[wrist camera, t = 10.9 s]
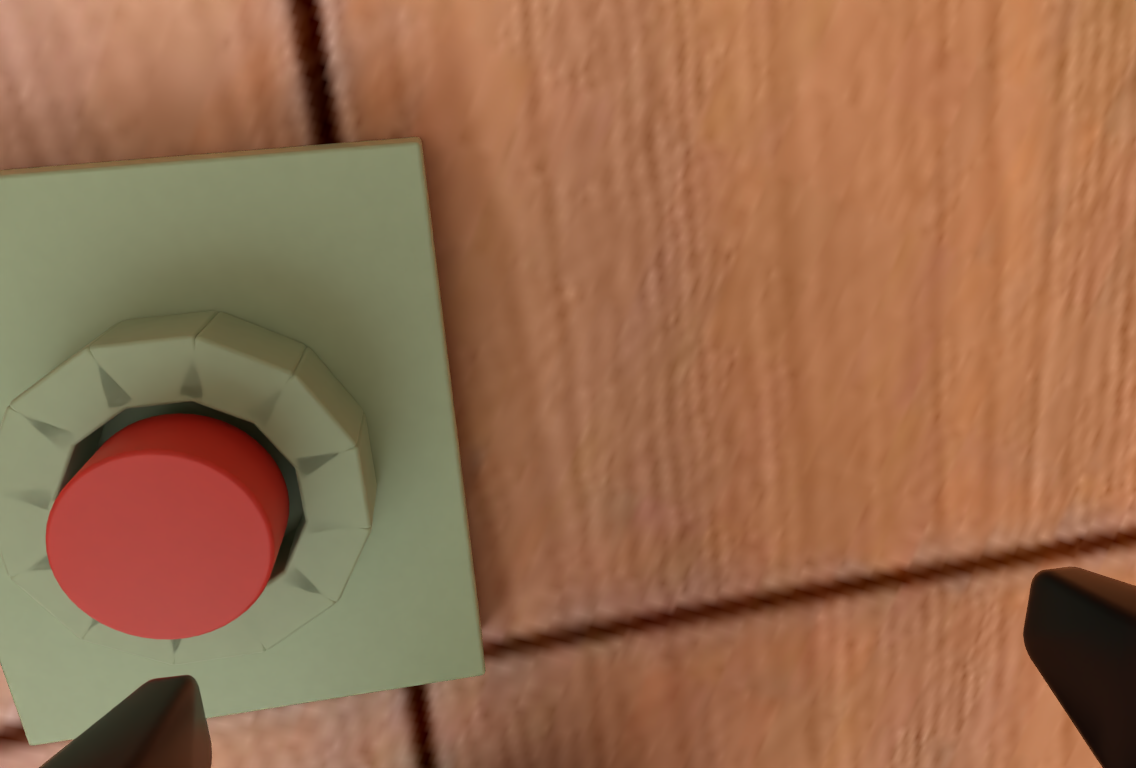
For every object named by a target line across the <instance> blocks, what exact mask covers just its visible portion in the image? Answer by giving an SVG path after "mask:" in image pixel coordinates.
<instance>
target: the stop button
mask: <svg viewBox="0 0 1136 768" xmlns="http://www.w3.org/2000/svg"><path fill="white" fill-rule="evenodd" d="M288 518H289V496H288V490H287V486H286V483H285V480H284V477H283V475H282V473H281V471H280V469H279V467H278V465H277V464H276V462H275V461H274V459H273V458H272V457H271V455H270V454H269V453H268V452H267V450H266V449H265V448H264V447H263V446H262V445H261V444H259V443H258V442H257V441H256V440H255V439H254V438H252V437H251V436H250V435H248V434H247V433H246V432H244V431H242V430H240V429H239V428H237V427H235V426H233V425H231V424H228V423H226V422H224V421H221V420H218V419H214V418H211V417H207V416H202V415H196V414H183V413H177V414H163V415H158V416H152V417H149V418H145V419H142V420H139V421H137V422H135V423H132V424H130V425H128V426H126V427H124V428H123V429H121V430H120V431H118V432H116V433H115V434H114V435H113V436H111V437H110V438H109V439H108V440H107V441H106V442H105V443H104V444H103V445H102V446H101V447H100V448H99V449H98V450H97V451H96V452H95V454H94V455H93V456H92V457H91V458H90V459H89V460H88V461H87V462H86V463H85V464H84V466H83V467H82V468H81V469H80V470H79V471H78V472H77V473H76V474H75V475H74V476H73V478H72V479H71V480H70V481H69V482H68V483H67V484H66V485H65V486H64V488H63V489H62V490H61V492H60V493H59V495H58V496H57V498H56V499H55V501H54V504H53V506H52V508H51V510H50V513H49V517H48V521H47V526H46V537H45V538H46V552H47V556H48V560H49V564H50V567H51V569H52V572H53V574H54V577H55V578H56V580H57V582H58V584H59V585H60V587H61V588H62V590H63V591H64V592H65V594H66V595H67V596H68V597H69V599H70V600H71V601H72V602H73V603H74V604H75V605H76V606H77V607H78V608H80V609H81V610H82V611H83V612H85V613H86V614H87V615H89V616H90V617H92V618H93V619H95V620H97V621H98V622H100V623H101V624H103V625H106V626H108V627H110V628H112V629H114V630H117V631H120V632H123V633H126V634H129V635H133V636H138V637H142V638H150V639H167V640H172V639H183V638H189V637H194V636H199V635H202V634H206V633H209V632H212V631H214V630H216V629H219V628H221V627H223V626H225V625H227V624H228V623H230V622H232V621H233V620H235V619H237V618H238V617H239V616H241V615H242V614H243V613H244V612H246V611H247V610H248V609H249V608H250V607H251V606H252V605H253V604H254V603H255V602H256V601H257V599H258V598H259V596H260V595H261V594H262V592H263V591H264V589H265V587H266V585H267V583H268V581H269V579H270V576H271V573H272V570H273V567H274V564H275V561H276V558H277V555H278V552H279V549H280V546H281V543H282V540H283V536H284V533H285V530H286V527H287V523H288Z"/></svg>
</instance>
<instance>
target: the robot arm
mask: <svg viewBox="0 0 1136 768" xmlns="http://www.w3.org/2000/svg"><path fill="white" fill-rule="evenodd" d="M1023 636H1024V643H1025V647H1026V650H1027V652H1028V654H1029V656H1030V658H1031V660H1032V661H1033V663H1034V664H1035V666H1036V667H1037V669H1038V670H1039V672H1040V673H1041V675H1042V676H1043V678H1044V679H1045V681H1046V682H1047V684H1048V685H1049V687H1050V689H1051V690H1052V692H1053V693H1054V695H1055V696H1056V698H1057V699H1058V701H1059V702H1060V704H1061V705H1062V707H1063V708H1064V710H1065V711H1066V713H1067V714H1068V716H1069V717H1070V719H1071V720H1072V722H1073V723H1074V725H1075V726H1076V728H1077V730H1078V731H1079V733H1080V734H1081V736H1082V737H1083V739H1084V740H1085V742H1086V743H1087V745H1088V746H1089V748H1090V749H1091V751H1092V752H1093V754H1094V755H1095V757H1096V758H1097V760H1098V761H1099V763H1100V764H1101V765H1102V767H1103V768H1136V586H1134V585H1131V584H1128V583H1125V582H1121V581H1118V580H1115V579H1112V578H1109V577H1106V576H1103V575H1100V574H1097V573H1094V572H1090V571H1087V570H1084V569H1081V568H1077V567H1064V568H1056V569H1048V570H1042V571H1040V572H1038V573H1037V574H1036V575H1035V577H1034V578H1033V580H1032V583H1031V588H1030V595H1029V601H1028V607H1027V613H1026V619H1025V625H1024V632H1023ZM211 760H212V748H211V740H210V735H209V730H208V726H207V721H206V716H205V712H204V707H203V702H202V698H201V693H200V689H199V685H198V683H197V681H196V679H195V678H194V677H192V676H191V675H180V676H172V677H163V678H155V679H151V680H149V681H147V682H146V683H144V684H143V685H141V686H140V687H139V688H138V689H136V690H135V691H134V692H133V693H131V694H130V695H129V696H128V697H126V698H125V699H124V700H123V701H121V702H120V703H119V704H118V705H116V706H115V707H114V708H113V709H111V710H110V711H109V712H108V713H107V714H105V715H104V716H103V717H102V718H100V719H99V720H98V721H97V722H95V723H94V724H93V725H92V726H90V727H89V728H88V729H87V730H85V731H84V732H83V733H82V734H80V735H79V736H78V737H77V738H75V739H74V740H73V741H72V742H70V743H69V744H68V745H67V746H65V747H64V748H63V749H62V750H60V751H59V752H58V753H57V754H55V755H54V756H53V757H52V758H50V759H49V760H48V761H47V762H45V763H44V764H43V765H42V766H41V767H39V768H211Z"/></svg>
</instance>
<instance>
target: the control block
mask: <svg viewBox="0 0 1136 768" xmlns="http://www.w3.org/2000/svg"><path fill="white" fill-rule="evenodd" d="M177 413H183V414H196V415H202V416H207V417H211V418H214V419H218V420H221V421H224V422H226V423H228V424H231V425H233V426H235V427H237V428H239V429H240V430H242V431H244V432H246V433H247V434H248V435H250V436H251V437H252V438H254V439H255V440H256V441H257V442H258V443H259V444H261V445H262V446H263V447H264V448H265V449H266V450H267V452H268V453H269V454H270V455H271V457H272V458H273V459H274V461H275V462H276V464H277V465H278V467H279V469H280V471H281V473H282V475H283V477H284V480H285V483H286V486H287V490H288V496H289V518H288V523H287V527H286V530H285V533H284V536H283V540H282V543H281V546H280V549H279V552H278V555H277V558H276V561H275V564H274V567H273V570H272V573H271V576H270V579H269V581H268V583H267V585H266V587H265V589H264V591H263V592H262V594H261V595H260V596H259V598H258V599H257V601H256V602H255V603H254V604H253V605H252V606H251V607H250V608H249V609H248V610H247V611H246V612H244V613H243V614H242V615H241V616H239V617H238V618H237V619H235V620H233V621H232V622H230V623H228V624H227V625H225V626H223V627H221V628H219V629H216V630H214V631H212V632H209V633H206V634H202V635H199V636H194V637H189V638H183V639H172V640H167V639H150V638H142V637H138V636H133V635H129V634H126V633H123V632H120V631H117V630H114V629H112V628H110V627H108V626H106V625H103V624H101V623H100V622H98V621H97V620H95V619H93V618H92V617H90V616H89V615H87V614H86V613H85V612H83V611H82V610H81V609H80V608H78V607H77V606H76V605H75V604H74V603H73V602H72V601H71V600H70V599H69V597H68V596H67V595H66V594H65V592H64V591H63V590H62V588H61V587H60V585H59V584H58V582H57V580H56V578H55V577H54V574H53V572H52V569H51V567H50V564H49V560H48V556H47V552H46V538H45V537H46V526H47V521H48V517H49V513H50V510H51V508H52V506H53V504H54V501H55V499H56V498H57V496H58V495H59V493H60V492H61V490H62V489H63V488H64V486H65V485H66V484H67V483H68V482H69V481H70V480H71V479H72V478H73V476H74V475H75V474H76V473H77V472H78V471H79V470H80V469H81V468H82V467H83V466H84V464H85V463H86V462H87V461H88V460H89V459H90V458H91V457H92V456H93V455H94V454H95V452H96V451H97V450H98V449H99V448H100V447H101V446H102V445H103V444H104V443H105V442H106V441H107V440H108V439H109V438H110V437H111V436H113V435H114V434H115V433H116V432H118V431H120V430H121V429H123V428H124V427H126V426H128V425H130V424H132V423H135V422H137V421H139V420H142V419H145V418H149V417H152V416H158V415H163V414H177ZM0 663H1V666H2V669H3V672H4V675H5V677H6V680H7V683H8V686H9V689H10V692H11V694H12V697H13V700H14V703H15V706H16V708H17V711H18V714H19V717H20V720H21V723H22V725H23V728H24V731H25V734H26V737H27V739H28V742H29V744H30V745H40V744H46V743H53V742H59V741H65V740H72V739H75V738H77V737H78V736H79V735H80V734H82V733H83V732H84V731H85V730H87V729H88V728H89V727H90V726H92V725H93V724H94V723H95V722H97V721H98V720H99V719H100V718H102V717H103V716H104V715H105V714H107V713H108V712H109V711H110V710H111V709H113V708H114V707H115V706H116V705H118V704H119V703H120V702H121V701H123V700H124V699H125V698H126V697H128V696H129V695H130V694H131V693H133V692H134V691H135V690H136V689H138V688H139V687H140V686H141V685H143V684H144V683H146V682H147V681H149V680H151V679H155V678H163V677H172V676H180V675H191V676H192V677H194V678H195V679H196V681H197V683H198V685H199V689H200V693H201V698H202V702H203V707H204V712H205V716H206V718H212V717H219V716H225V715H231V714H238V713H244V712H251V711H257V710H263V709H270V708H276V707H282V706H289V705H295V704H302V703H308V702H314V701H321V700H327V699H334V698H340V697H346V696H353V695H359V694H365V693H372V692H378V691H385V690H391V689H397V688H404V687H410V686H417V685H423V684H429V683H436V682H442V681H448V680H455V679H461V678H468V677H474V676H480V675H483V674H484V673H485V661H484V650H483V640H482V630H481V622H480V614H479V606H478V597H477V589H476V581H475V573H474V565H473V556H472V548H471V540H470V532H469V524H468V516H467V507H466V499H465V491H464V483H463V475H462V467H461V458H460V450H459V442H458V434H457V426H456V417H455V409H454V401H453V393H452V385H451V377H450V368H449V360H448V352H447V344H446V336H445V328H444V319H443V311H442V303H441V295H440V287H439V278H438V270H437V262H436V254H435V246H434V238H433V229H432V221H431V213H430V205H429V197H428V189H427V180H426V172H425V164H424V156H423V148H422V141H421V139H420V138H419V137H408V138H395V139H383V140H370V141H358V142H345V143H333V144H320V145H308V146H295V147H283V148H270V149H257V150H245V151H232V152H220V153H207V154H195V155H182V156H170V157H157V158H145V159H132V160H119V161H107V162H94V163H82V164H69V165H57V166H44V167H32V168H19V169H7V170H0Z"/></svg>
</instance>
